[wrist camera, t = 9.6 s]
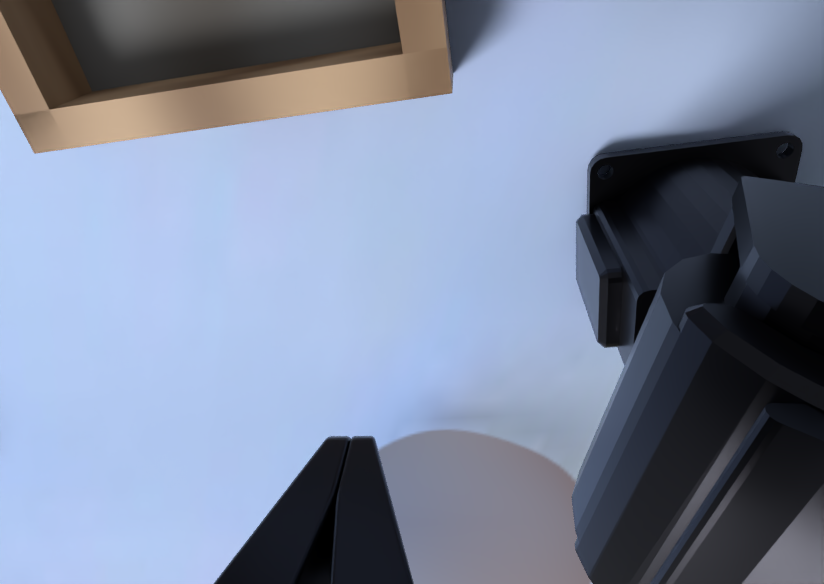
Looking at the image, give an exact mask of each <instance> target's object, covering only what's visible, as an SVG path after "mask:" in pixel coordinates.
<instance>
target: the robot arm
mask: <svg viewBox="0 0 824 584" xmlns="http://www.w3.org/2000/svg"><path fill="white" fill-rule="evenodd" d="M785 143H788V146H787V148H786V150H785V151H784V152H783V153H781V154H778V155H777V154H776V151H777V149H778V148H779V147H780V146H781V145H782V144H785ZM801 152H802V142H801V140H800V138H798V137H797V136H795V135H793V134H791V133H790V132H783V131H782V132H774V133H765V134H757V135H749V136H741V137H733V138H725V139H717V140H709V141H701V142H693V143H685V144H677V145H668V146H660V147H652V148H644V149H636V150H628V151H620V152H612V153H604V154H600V155H597V156H596V157H594V158H593V159H592V160H591V162H590V163H589V165H588V171H587V214H585V215H581V217H580V218H579V219H578V220H577V221H576V280H577V283H578V286H579V289H580V292H581V295H582V298H583V301H584V304H585V307H586V310H587V313H588V316H589V319H590V322H591V325H592V328H593V331H594V334H595V337H596V339H597V342H598V343H599V344H601V345H602V346H603V347H604V348H607V347H618V350H619V353H620V355H621V358H622V360H623V363H624V369H623V371H622V373H621V376H620V378H619V380H618V383H617V385H616V387H615V389H614V392H613V394H612V396H611V399H610V401H609V403H608V406H607V408H606V410H605V413H604V415H603V417H602V420H601V422H600V424H599V427H598V429H597V431H596V434H595V436H594V438H593V441H592V443H591V445H590V448H589V450H588V452H587V455H586V457H585V459H584V462H583V464H582V466H581V469H580V471H579V474H578V478H577V481H576V484H575V488H574V491H573V494H572V505H573V513H574V522H575V531H576V534H577V540H576V542H575V550H576V552H577V554H578V557H579V559H580V561H581V563H582V565H583V567H584V569H585V571H586V573H587V575H588V577H589V579H590V580H591V582H592V583H593V584H824V187H822V186H815V185H808V184H800V183H795V179H796V175H797V170H798V166H799V161H800V157H801ZM603 165H610V166H611V168H610V171H609V172H608V173H607V174H605V175H598V174H597V172H598V169H599V168H600V167H601V166H603ZM214 584H414V583H413V579H412V575H411V572H410V568H409V565H408V560H407V557H406V553H405V549H404V545H403V542H402V538H401V534H400V531H399V527H398V523H397V520H396V516H395V512H394V508H393V504H392V501H391V497H390V494H389V489H388V486H387V482H386V478H385V475H384V471H383V467H382V463H381V460H380V456H379V452H378V448H377V445H376V441H375V438H374V437H373V436H354V437H352V439H351V438H350V437H348V436H331V437H328V438H327V439H326V440H325V441H324V442H323V443H322V445H321V446H320V447H319V449H318V450H317V451H316V452H315V454H314V455H313V456H312V458H311V459H310V460H309V461H308V463H307V464H306V465H305V467H304V468H303V469H302V470H301V472H300V473H299V474H298V476H297V477H296V478H295V480H294V481H293V482H292V483H291V485H290V486H289V487H288V489H287V490H286V491H285V492H284V494H283V495H282V496H281V498H280V499H279V500H278V501H277V503H276V504H275V505H274V507H273V508H272V509H271V510H270V512H269V513H268V514H267V516H266V517H265V518H264V520H263V521H262V522H261V523H260V525H259V526H258V527H257V529H256V530H255V531H254V532H253V534H252V535H251V536H250V538H249V539H248V540H247V541H246V543H245V544H244V545H243V547H242V548H241V549H240V551H239V552H238V553H237V554H236V556H235V557H234V558H233V560H232V561H231V562H230V563H229V565H228V566H227V567H226V569H225V570H224V571H223V572H222V574H221V575H220V576H219V578H218V579H217V580H216V581H215V583H214Z"/></svg>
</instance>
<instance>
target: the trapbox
mask: <svg viewBox="0 0 824 584" xmlns="http://www.w3.org/2000/svg"><path fill="white" fill-rule="evenodd" d="M452 86H453V69H452V60H451V51H450V42H449V33H448V24H447V15H446V6H445V0H0V90H1V91H2V93H3V95H4V97H5V99H6V101H7V103H8V105H9V106H10V108H11V110H12V112H13V114H14V116H15V118H16V120H17V121H18V123H19V125H20V127H21V129H22V131H23V133H24V135H25V137H26V138H27V140H28V142H29V144H30V146H31V148H32V150H33V152H34V153H42V152H49V151H55V150H62V149H69V148H76V147H83V146H90V145H97V144H104V143H111V142H118V141H125V140H132V139H138V138H145V137H152V136H159V135H166V134H173V133H180V132H187V131H194V130H201V129H208V128H215V127H221V126H228V125H235V124H242V123H249V122H256V121H263V120H270V119H277V118H284V117H291V116H298V115H305V114H311V113H318V112H325V111H332V110H339V109H346V108H353V107H360V106H367V105H374V104H381V103H388V102H394V101H401V100H408V99H415V98H422V97H429V96H436V95H443V94H450V93H452Z"/></svg>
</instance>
